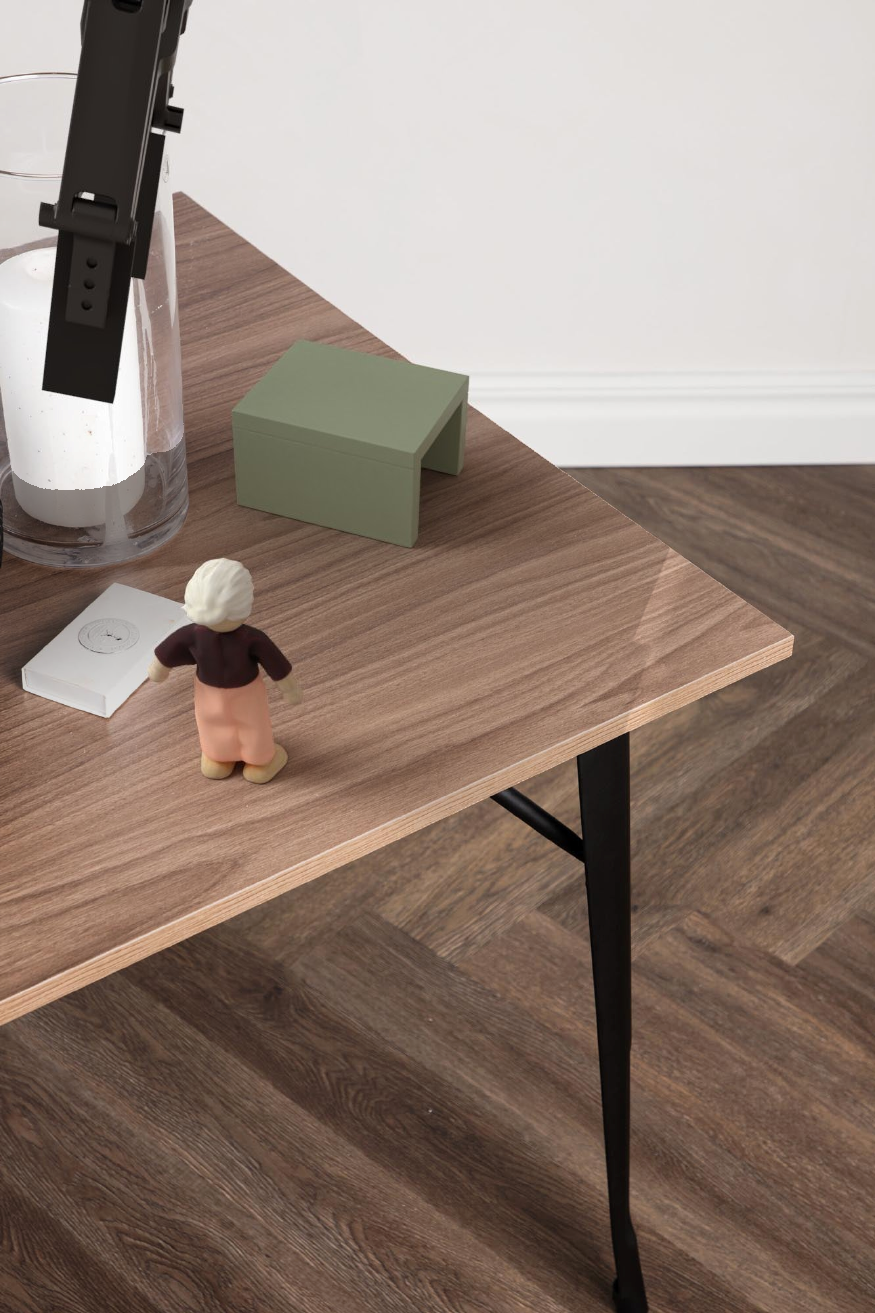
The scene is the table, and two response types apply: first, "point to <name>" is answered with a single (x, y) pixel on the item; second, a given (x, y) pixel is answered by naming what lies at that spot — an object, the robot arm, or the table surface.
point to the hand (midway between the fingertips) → (98, 327)
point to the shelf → (347, 439)
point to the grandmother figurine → (228, 673)
